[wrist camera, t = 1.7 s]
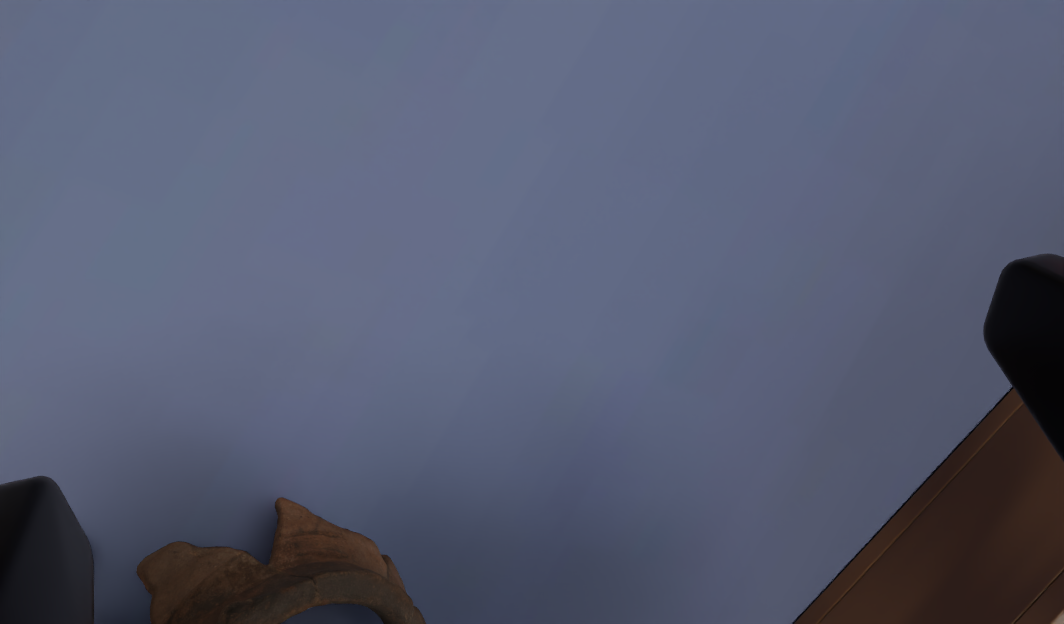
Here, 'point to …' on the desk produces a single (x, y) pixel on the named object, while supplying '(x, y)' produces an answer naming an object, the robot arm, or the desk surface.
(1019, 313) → the robot arm
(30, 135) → the desk surface
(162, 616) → the pottery mug
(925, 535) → the cabinet
